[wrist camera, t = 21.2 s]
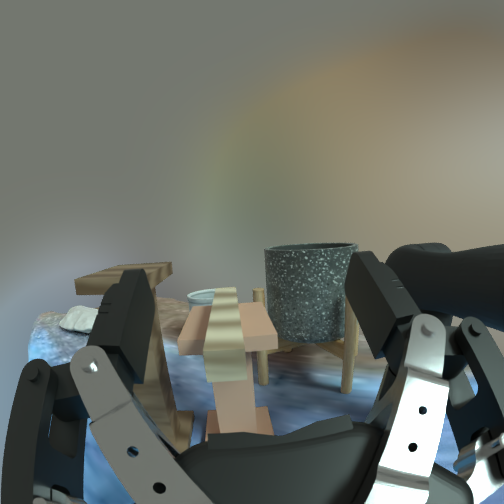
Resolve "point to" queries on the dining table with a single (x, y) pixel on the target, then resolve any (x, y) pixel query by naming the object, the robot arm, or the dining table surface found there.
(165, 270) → the walnut base stand
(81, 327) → the crumpled cloth
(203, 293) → the utensil holder
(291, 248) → the planter
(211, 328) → the beech bar
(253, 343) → the terracotta base stand
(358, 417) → the dining table surface
